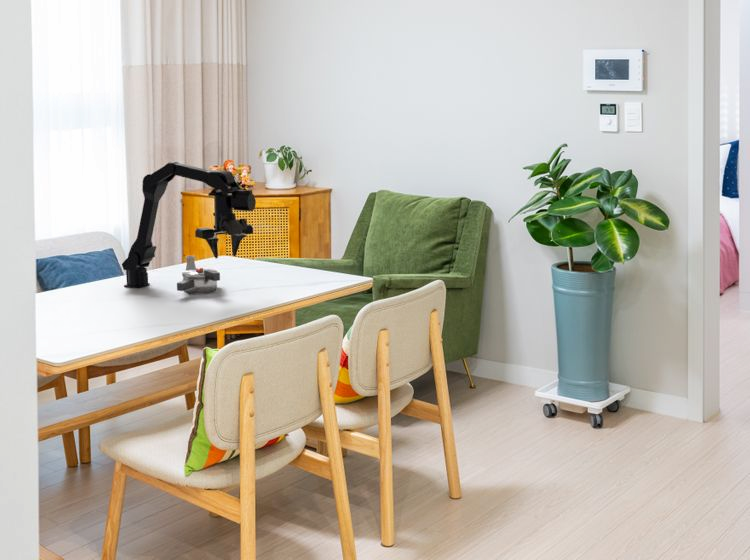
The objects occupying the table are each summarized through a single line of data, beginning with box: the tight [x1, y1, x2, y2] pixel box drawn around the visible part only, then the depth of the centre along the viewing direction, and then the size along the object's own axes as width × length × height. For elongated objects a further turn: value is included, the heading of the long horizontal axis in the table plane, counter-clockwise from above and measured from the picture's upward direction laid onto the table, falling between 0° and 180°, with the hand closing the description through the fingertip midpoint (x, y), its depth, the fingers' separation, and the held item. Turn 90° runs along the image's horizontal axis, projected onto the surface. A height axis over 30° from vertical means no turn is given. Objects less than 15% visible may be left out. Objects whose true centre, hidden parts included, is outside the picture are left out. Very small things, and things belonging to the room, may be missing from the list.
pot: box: [176, 276, 218, 295], centre depth 317 cm, size 20×11×5 cm, turn 158°
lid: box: [181, 267, 221, 282], centre depth 316 cm, size 18×12×2 cm, turn 38°
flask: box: [181, 255, 197, 281], centre depth 328 cm, size 7×7×10 cm
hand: (225, 257), depth 313 cm, fingers open, 6 cm apart
